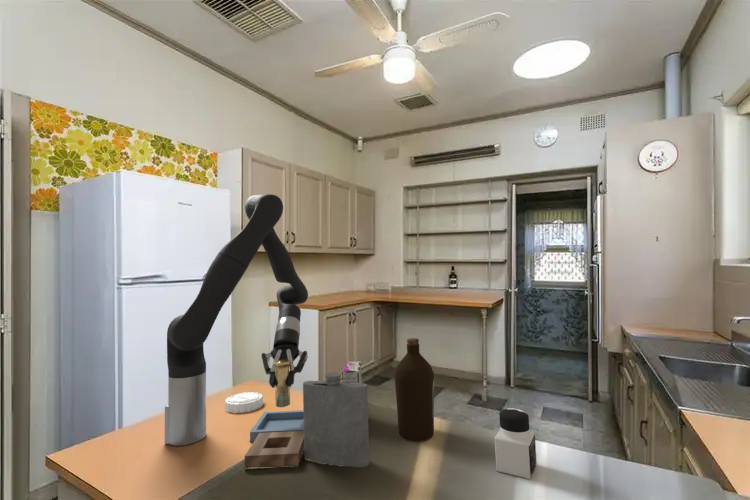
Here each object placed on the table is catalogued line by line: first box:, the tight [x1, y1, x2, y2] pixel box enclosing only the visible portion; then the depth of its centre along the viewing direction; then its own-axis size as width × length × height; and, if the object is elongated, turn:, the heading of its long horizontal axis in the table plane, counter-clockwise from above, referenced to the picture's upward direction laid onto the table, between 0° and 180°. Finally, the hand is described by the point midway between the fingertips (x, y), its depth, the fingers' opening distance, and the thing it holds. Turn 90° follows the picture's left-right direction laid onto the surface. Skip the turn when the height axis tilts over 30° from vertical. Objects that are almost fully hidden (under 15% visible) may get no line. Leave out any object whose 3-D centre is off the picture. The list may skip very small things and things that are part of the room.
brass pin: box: [272, 360, 291, 408], centre depth 104 cm, size 5×5×12 cm
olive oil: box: [394, 337, 435, 442], centre depth 99 cm, size 11×11×25 cm
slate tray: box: [249, 409, 304, 443], centre depth 103 cm, size 14×14×2 cm
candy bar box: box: [341, 360, 363, 383], centre depth 107 cm, size 11×5×16 cm, turn 179°
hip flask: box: [302, 372, 370, 468], centre depth 85 cm, size 16×4×20 cm, turn 75°
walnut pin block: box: [244, 431, 304, 468], centre depth 88 cm, size 12×12×3 cm
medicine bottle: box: [494, 407, 538, 480], centre depth 80 cm, size 7×7×12 cm
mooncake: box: [224, 391, 264, 414], centre depth 123 cm, size 12×12×4 cm
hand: (281, 385), depth 102 cm, fingers closed on brass pin, 4 cm apart
